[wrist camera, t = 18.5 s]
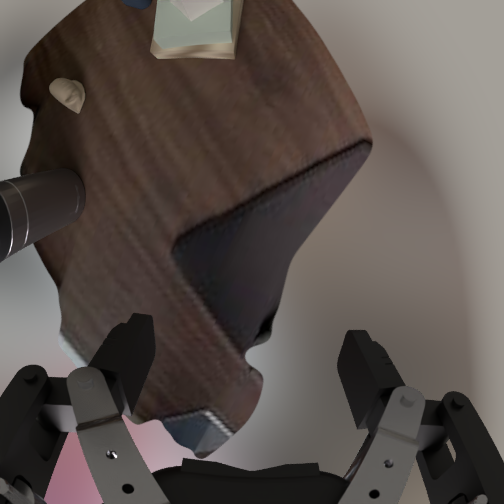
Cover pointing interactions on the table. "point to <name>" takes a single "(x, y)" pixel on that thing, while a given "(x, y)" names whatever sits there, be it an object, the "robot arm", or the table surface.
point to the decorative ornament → (68, 93)
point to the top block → (192, 26)
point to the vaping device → (137, 3)
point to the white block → (195, 7)
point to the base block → (206, 49)
